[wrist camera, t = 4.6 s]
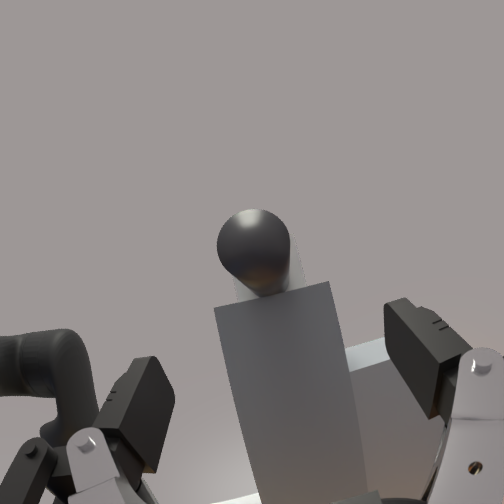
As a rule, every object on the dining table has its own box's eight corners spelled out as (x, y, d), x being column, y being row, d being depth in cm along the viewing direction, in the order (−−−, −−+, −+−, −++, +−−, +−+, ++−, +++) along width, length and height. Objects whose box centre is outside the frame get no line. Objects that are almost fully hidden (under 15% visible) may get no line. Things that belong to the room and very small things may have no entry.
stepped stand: (283, 569, 17) (213, 307, 25) (286, 507, 32) (240, 313, 40) (445, 522, 16) (419, 255, 24) (407, 475, 31) (375, 279, 39)
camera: (198, 293, 16) (180, 183, 18) (250, 310, 38) (239, 259, 40) (325, 264, 16) (292, 154, 17) (303, 297, 38) (290, 247, 39)
